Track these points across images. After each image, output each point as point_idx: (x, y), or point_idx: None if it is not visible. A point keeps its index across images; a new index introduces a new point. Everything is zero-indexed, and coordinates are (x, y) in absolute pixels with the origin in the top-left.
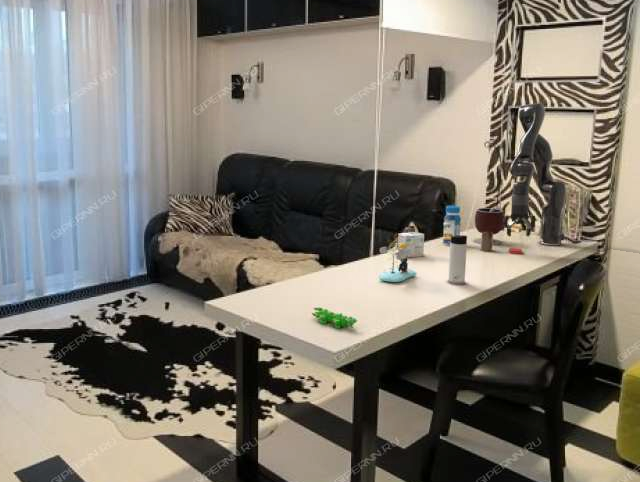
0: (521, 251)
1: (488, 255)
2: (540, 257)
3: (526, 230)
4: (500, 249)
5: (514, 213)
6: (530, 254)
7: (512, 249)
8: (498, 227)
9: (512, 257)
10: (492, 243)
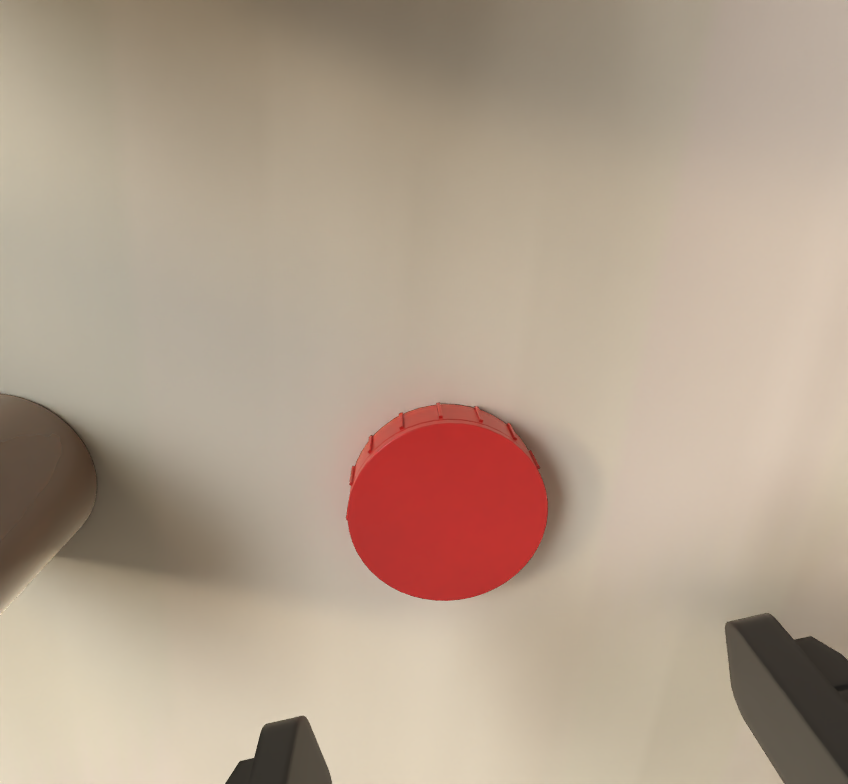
0: (527, 550)
1: (87, 747)
2: None
3: (817, 750)
4: (218, 340)
5: None
6: (641, 530)
7: (397, 536)
8: None
9: (383, 749)
10: (27, 562)
